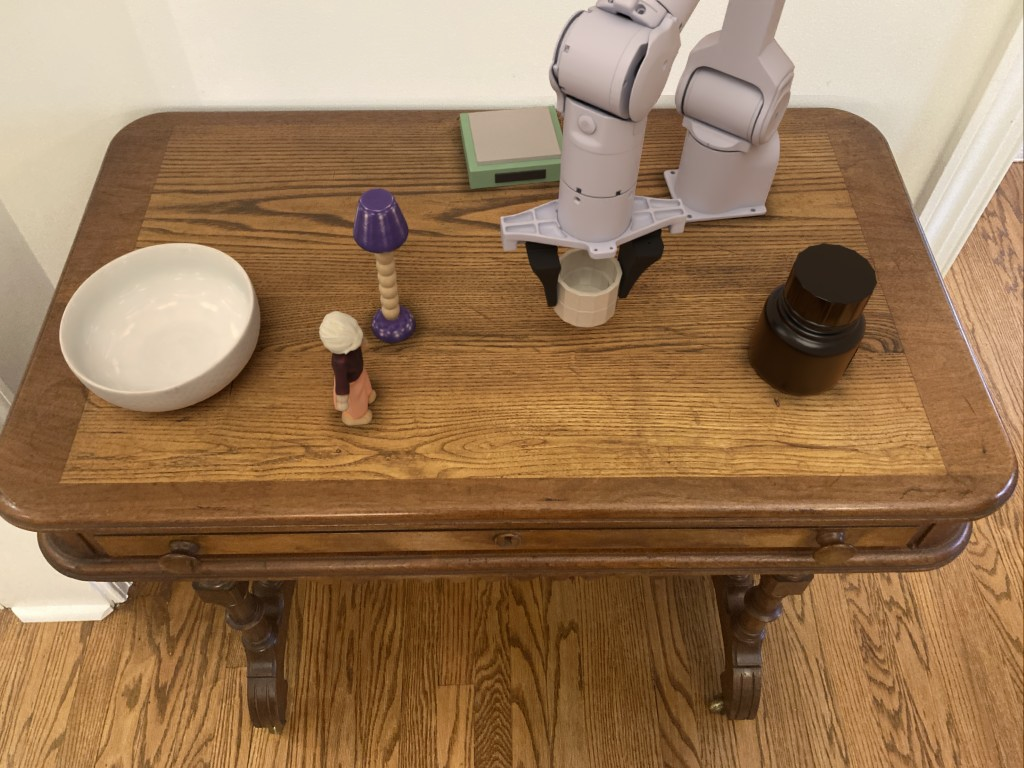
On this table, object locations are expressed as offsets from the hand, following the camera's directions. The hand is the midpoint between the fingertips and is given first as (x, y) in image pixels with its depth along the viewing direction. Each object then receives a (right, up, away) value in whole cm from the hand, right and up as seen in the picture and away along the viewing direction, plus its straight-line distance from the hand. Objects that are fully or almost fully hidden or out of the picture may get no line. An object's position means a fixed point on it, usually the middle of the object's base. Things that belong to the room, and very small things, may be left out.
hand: (584, 294), depth 74 cm
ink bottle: (+20, -6, +7) cm, 22 cm away
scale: (-6, +18, +23) cm, 30 cm away
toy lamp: (-18, -3, +8) cm, 20 cm away
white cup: (0, -1, +1) cm, 2 cm away
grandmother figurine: (-20, -10, +3) cm, 23 cm away
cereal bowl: (-37, -6, +6) cm, 38 cm away
